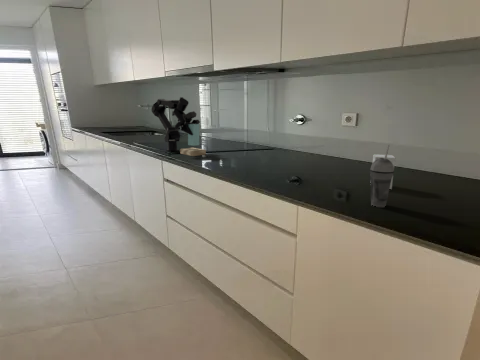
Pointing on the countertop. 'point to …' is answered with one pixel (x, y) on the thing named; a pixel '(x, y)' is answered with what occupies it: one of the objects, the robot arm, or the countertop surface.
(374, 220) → the countertop surface
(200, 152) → the birch base block
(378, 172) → the beverage cup
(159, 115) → the robot arm
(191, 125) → the teal tall block
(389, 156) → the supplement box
